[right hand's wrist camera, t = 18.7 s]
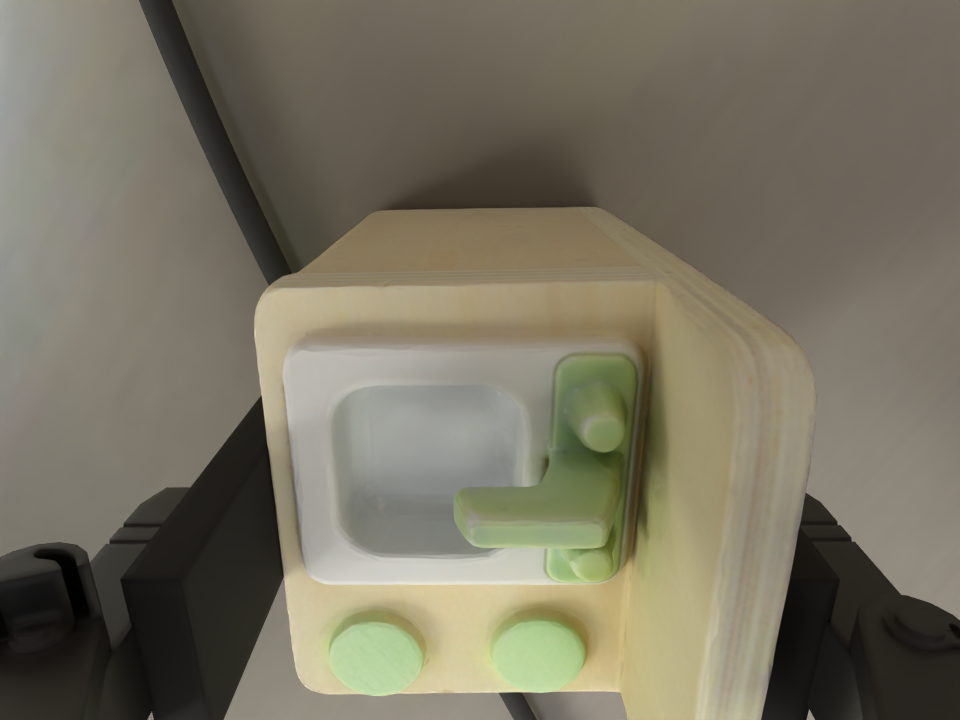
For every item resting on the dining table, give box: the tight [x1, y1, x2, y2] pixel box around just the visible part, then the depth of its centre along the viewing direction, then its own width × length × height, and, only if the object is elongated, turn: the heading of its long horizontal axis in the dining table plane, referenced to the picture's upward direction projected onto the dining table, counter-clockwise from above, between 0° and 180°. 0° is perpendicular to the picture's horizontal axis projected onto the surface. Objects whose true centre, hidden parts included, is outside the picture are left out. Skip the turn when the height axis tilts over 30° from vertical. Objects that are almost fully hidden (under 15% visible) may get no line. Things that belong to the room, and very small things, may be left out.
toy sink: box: [254, 207, 817, 720], centre depth 14 cm, size 8×7×13 cm
